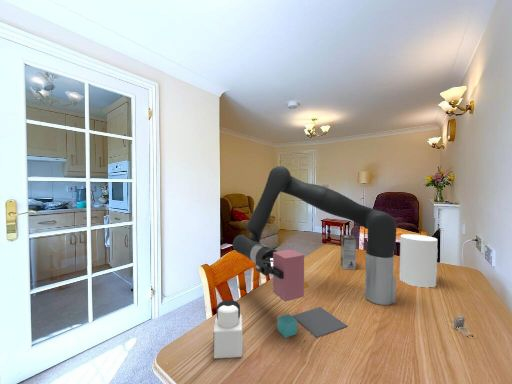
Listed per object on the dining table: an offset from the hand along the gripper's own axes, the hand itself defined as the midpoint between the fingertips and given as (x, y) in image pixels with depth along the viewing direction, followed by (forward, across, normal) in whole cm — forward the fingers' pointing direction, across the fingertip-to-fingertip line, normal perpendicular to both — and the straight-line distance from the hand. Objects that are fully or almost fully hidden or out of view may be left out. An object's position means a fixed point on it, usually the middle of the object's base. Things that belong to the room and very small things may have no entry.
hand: (293, 273), depth 65 cm
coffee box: (-34, +59, +19) cm, 71 cm away
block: (-3, 0, +18) cm, 19 cm away
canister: (-7, +73, +19) cm, 75 cm away
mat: (-3, +12, +18) cm, 22 cm away
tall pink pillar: (-2, 0, +7) cm, 7 cm away
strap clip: (+19, +47, +19) cm, 55 cm away
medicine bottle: (-4, -18, +18) cm, 26 cm away
